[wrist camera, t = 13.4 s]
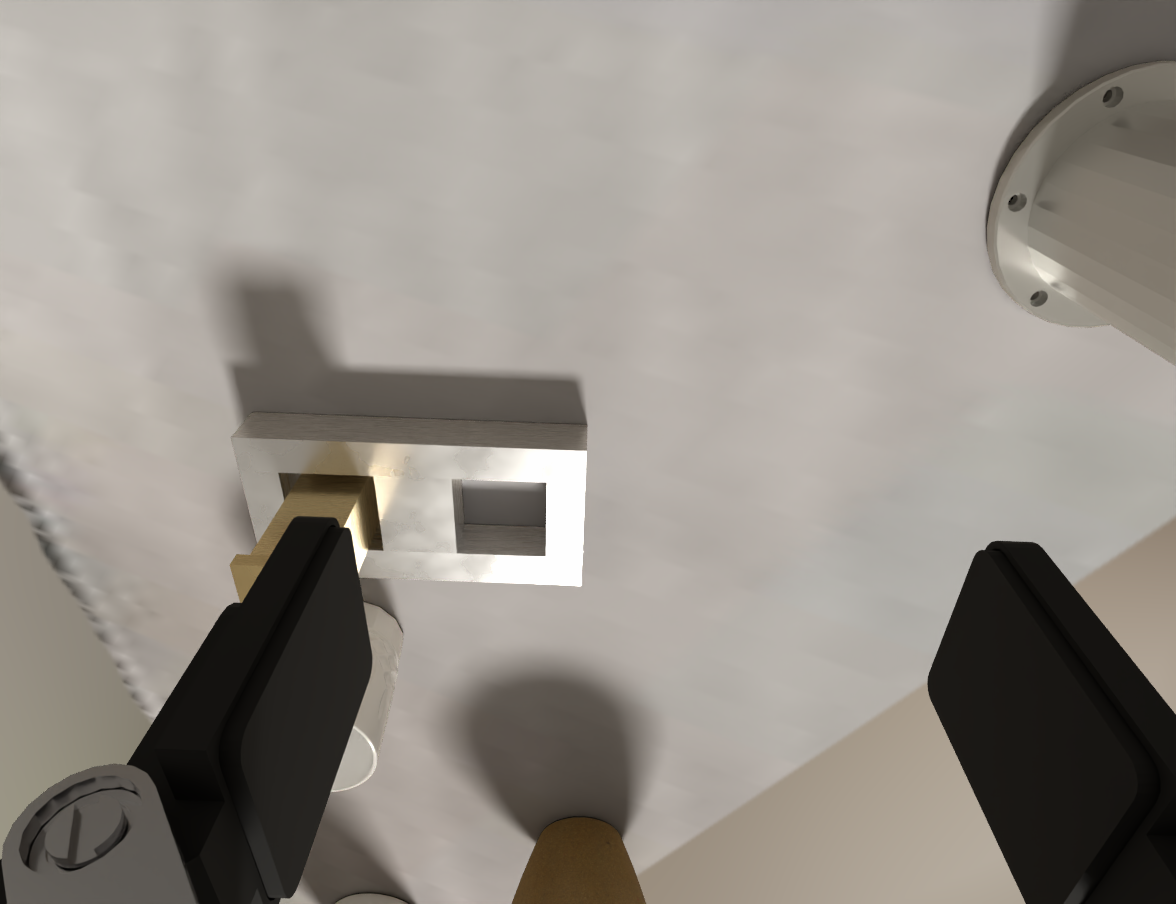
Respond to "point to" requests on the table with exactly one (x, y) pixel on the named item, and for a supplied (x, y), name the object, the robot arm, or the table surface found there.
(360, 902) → the fruit juice
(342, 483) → the brass square peg
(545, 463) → the rail
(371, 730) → the white cup
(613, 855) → the plant pot
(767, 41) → the table surface
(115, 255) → the table surface
